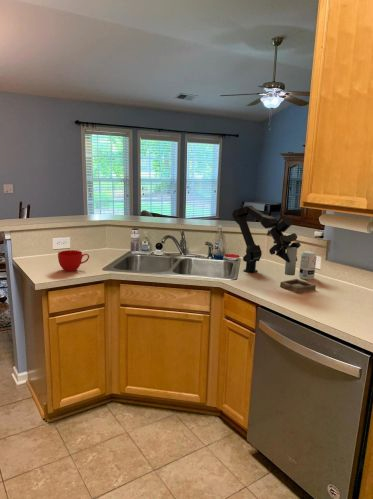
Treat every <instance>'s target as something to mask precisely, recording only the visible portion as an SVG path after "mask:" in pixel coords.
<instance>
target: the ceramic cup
mask: <svg viewBox="0 0 373 499" xmlns="http://www.w3.org/2000/svg"><path fill="white" fill-rule="evenodd" d="M85 256H87V258H86V259H85V260H83V257H85ZM57 258H58V264H59V266H60V267H61V269H62V270H63V271H64V272H66V273H69V272H70V273H71V272H77V270H78V269H79V267H81V265H82V264H84V263H87V262H88V260H89V259H90V255H89V254H88V253H83V252H82V251H80V250H73V249H71V250H69V249H68V250H62V251H58V252H57ZM82 260H83V261H82Z"/></svg>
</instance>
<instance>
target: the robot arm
mask: <svg viewBox="0 0 373 499" xmlns="http://www.w3.org/2000/svg"><path fill="white" fill-rule="evenodd" d="M231 215H232V218H233V220H234V222H235V223H236V224H238V226H239V229H240V231H241V234H242V238H243V241H244V242H245V245H246V248H245V255H244V256H243V257H242V261H243V262H245V269H243V272H247V273H252V274H254V273H257V272H258V269H256V268H257V262H260V260H261V258H262V255H263V252H262V249H261V246H260V245H259V244H256V243H255V241H254V237H253V235H252V232H251V230H250V227H249V224H248V217H249V216H251V217H252V218H254V219H255V220H256V221H257V220H258V221H259V223H260V225H261V226H262V227H263V228H264V229H267V236H271V237H272V240H273V241H272V242H273V246H271V247H270V249H269V254H270V255H272V256H273V255H275V256H277V257H279V258H281V259H282V260H283V261H285V262H286V261H287V262H288V263H289V262H290V260H289V258H288V256H287V254H286V252H287V247H295V248H297V250H298V249H300V247H301V246H302V244H301V243H300V242H299V241H297V239H298V235H297V234H296V233H295V232H293V233H291V234H288V235H284V234H283V233H285V232H286V231H287V230H288V229H289V228H290V227H291V226H292V225H293V222H292V220H291V219H289V218H288V217H286V215H282V216H281V217H280V218H279V219H277V218H276V217H274V216H272V215H267V214H265V213H263V212H262V211H260V210H259V209H257V208H256V207H254V206H253V205H245V206H243V207H241V208H238V209H234V210H233V211H232V214H231ZM268 229H269V230H268ZM297 261H298V256H297V257H296V262H297Z"/></svg>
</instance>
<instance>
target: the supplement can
mask: <svg viewBox="0 0 373 499" xmlns="http://www.w3.org/2000/svg"><path fill="white" fill-rule="evenodd" d="M316 262H317V253H316V251H312V250H303V251H302V252H301V254H300V262H299V263H300V264H299V272H298V276H299V279H301V280H313V279H315V272H316Z"/></svg>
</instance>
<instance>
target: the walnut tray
mask: <svg viewBox="0 0 373 499" xmlns="http://www.w3.org/2000/svg"><path fill="white" fill-rule="evenodd" d="M279 287H281V288H283V289H286V290H289V291H291V292H294V293H296V294H299V295H301V294H303V293H307V292H313V291H316V288H317V285H316V284H313V283H310V282H309V281H304V280H303V279H300V278H294V279H293V278H292V279H288V280H284V281H280V286H279Z"/></svg>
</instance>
